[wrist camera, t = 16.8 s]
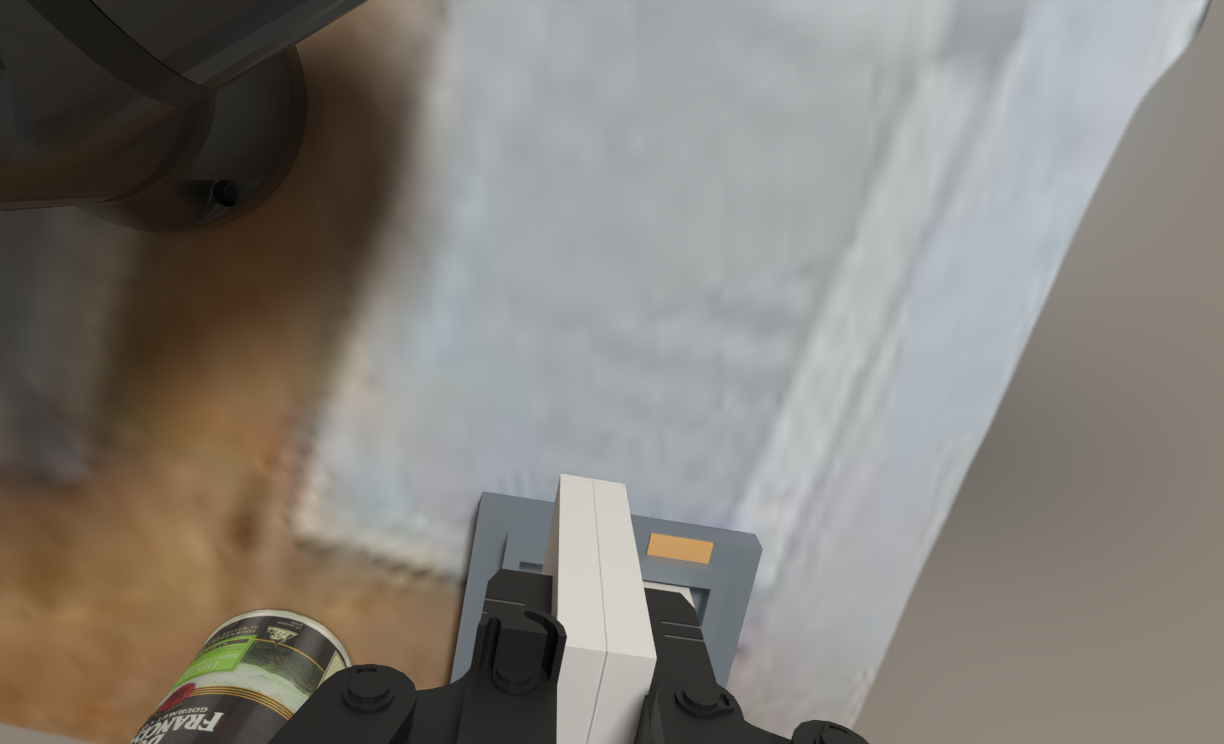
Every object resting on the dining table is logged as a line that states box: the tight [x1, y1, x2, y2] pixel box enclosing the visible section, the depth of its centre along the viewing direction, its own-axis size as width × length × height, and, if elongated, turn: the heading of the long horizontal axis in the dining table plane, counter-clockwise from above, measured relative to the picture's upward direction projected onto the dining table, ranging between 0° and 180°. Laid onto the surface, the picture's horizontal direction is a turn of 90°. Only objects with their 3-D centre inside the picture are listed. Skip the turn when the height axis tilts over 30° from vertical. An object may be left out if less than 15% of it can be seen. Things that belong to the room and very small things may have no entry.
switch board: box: [450, 492, 763, 688], centre depth 50 cm, size 18×16×3 cm
